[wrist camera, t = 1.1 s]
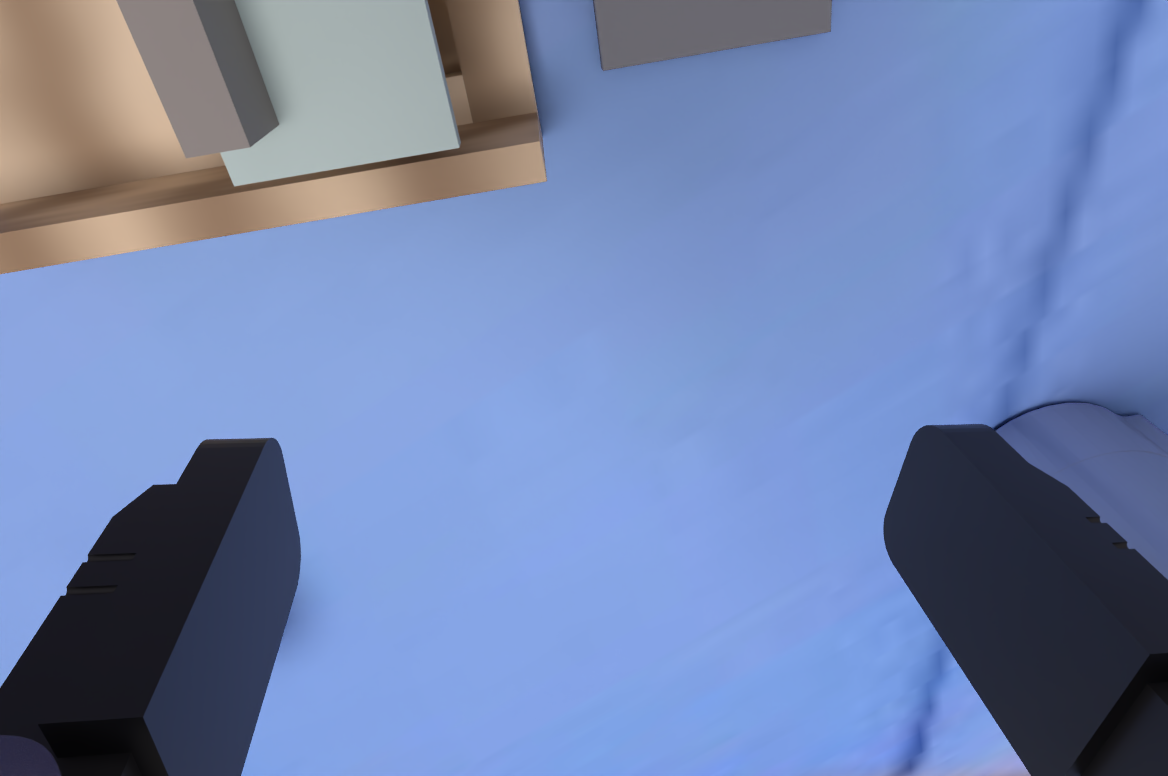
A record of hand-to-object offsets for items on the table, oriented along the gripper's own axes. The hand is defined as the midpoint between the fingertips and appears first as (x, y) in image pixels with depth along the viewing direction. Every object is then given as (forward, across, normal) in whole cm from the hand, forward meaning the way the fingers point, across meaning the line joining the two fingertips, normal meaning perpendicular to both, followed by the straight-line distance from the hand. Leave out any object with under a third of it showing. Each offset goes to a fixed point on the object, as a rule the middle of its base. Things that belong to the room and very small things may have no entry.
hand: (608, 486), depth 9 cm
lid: (+15, +6, -5) cm, 17 cm away
